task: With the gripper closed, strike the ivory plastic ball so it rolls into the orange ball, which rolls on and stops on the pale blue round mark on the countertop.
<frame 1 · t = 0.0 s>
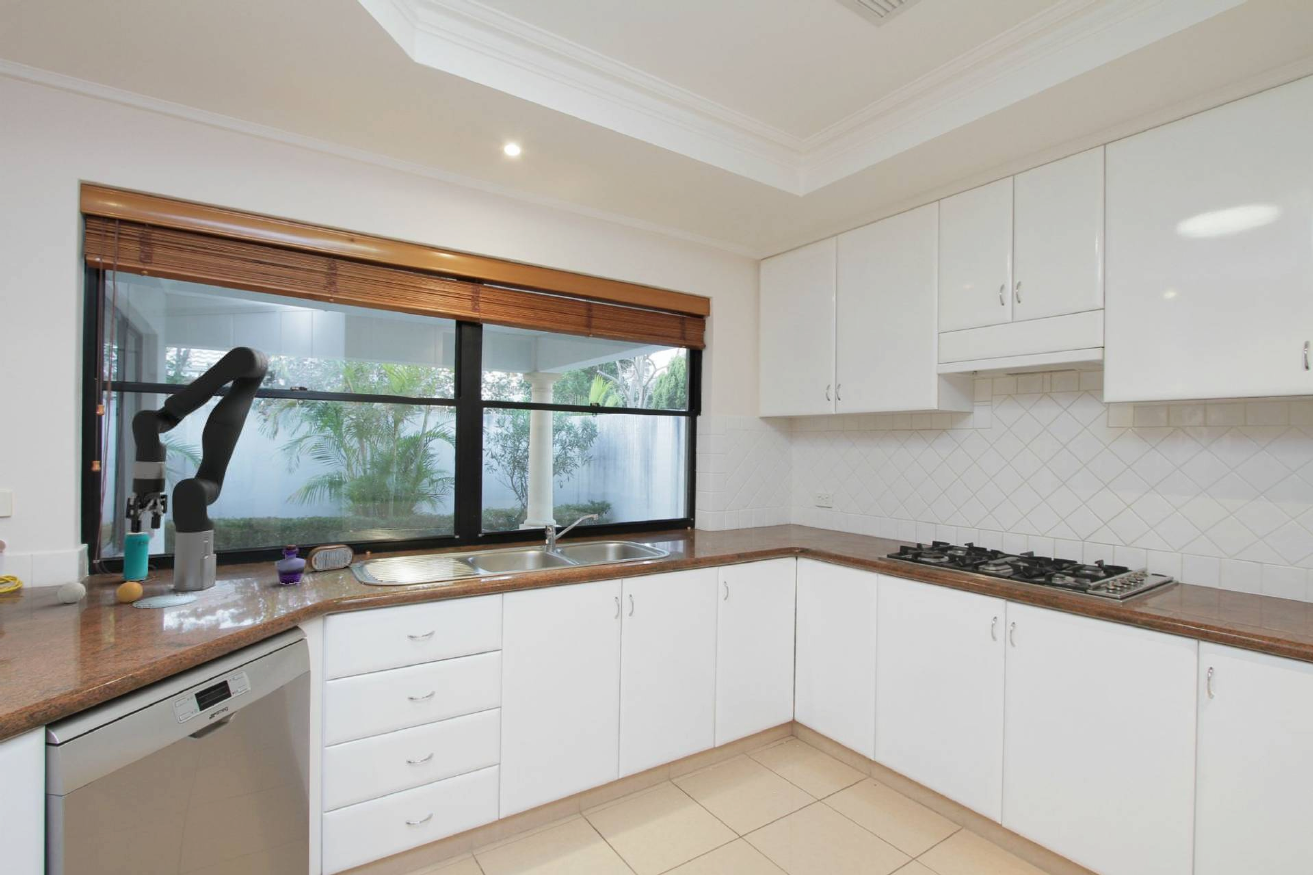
hand: (145, 530, 180), 17 cm above the worktop, tool pointing down, fingers open, 8 cm apart
potion bottle: (289, 583, 191), on the worktop
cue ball: (71, 592, 163), on the worktop
tin: (331, 570, 211), on the worktop
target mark: (165, 601, 167), on the worktop
orange ball: (129, 592, 165), on the worktop
beverage can: (135, 581, 189), on the worktop
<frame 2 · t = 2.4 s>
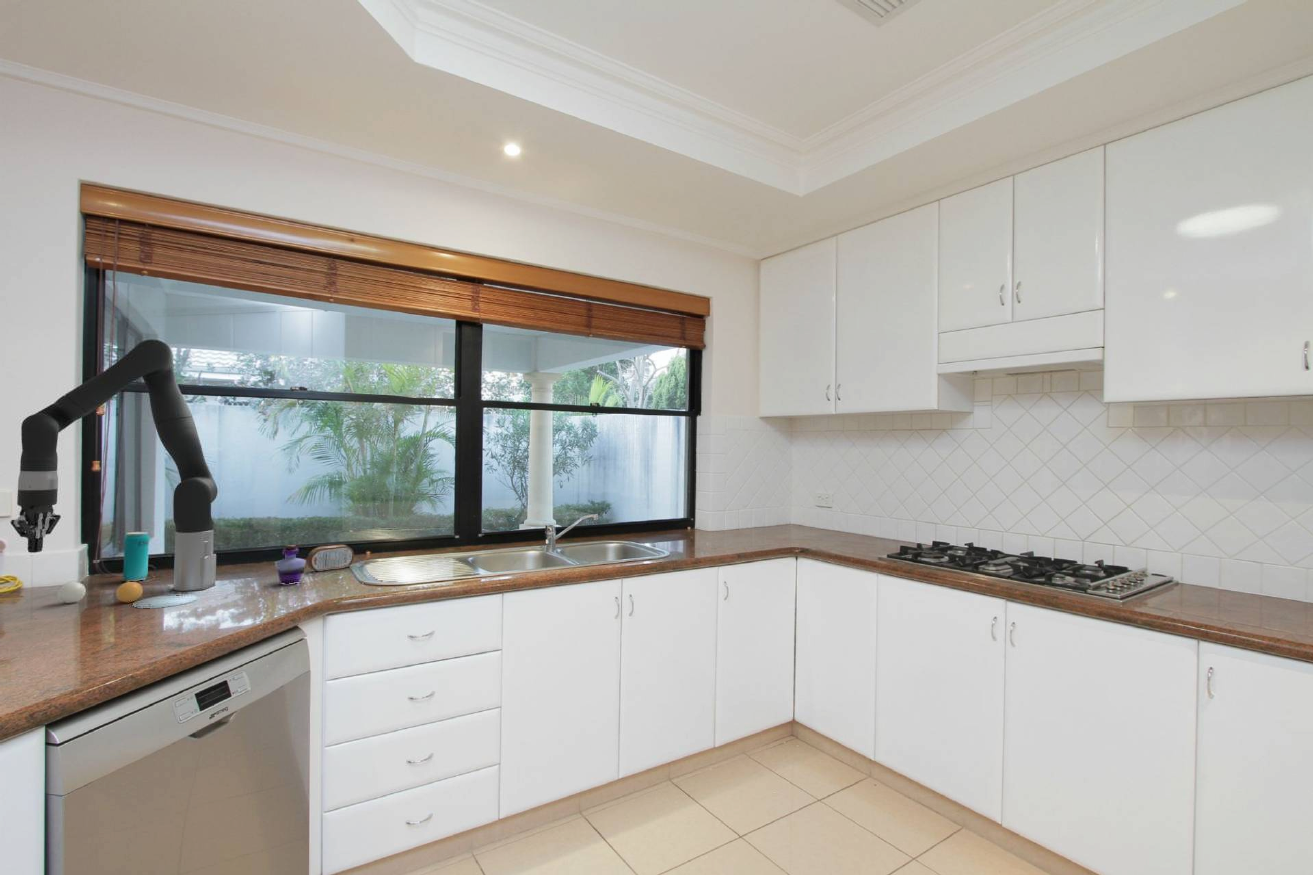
hand: (35, 552, 162), 14 cm above the worktop, tool pointing down, fingers closed
nothing on the worktop moved.
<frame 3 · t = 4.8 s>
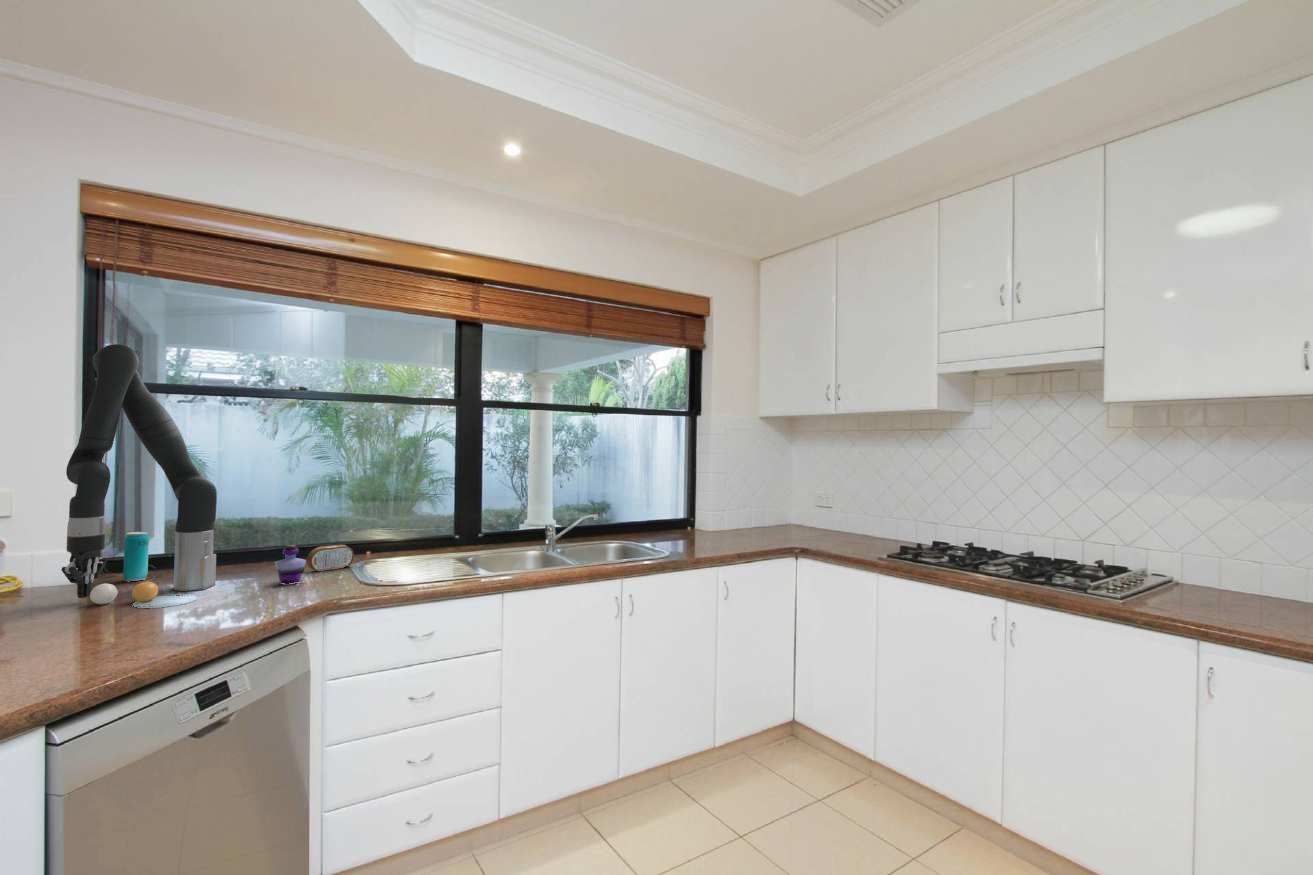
hand: (84, 597, 164), 2 cm above the worktop, tool pointing down, fingers closed
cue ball: (103, 593, 163), on the worktop
orange ball: (145, 591, 166), on the worktop
everything else where it was.
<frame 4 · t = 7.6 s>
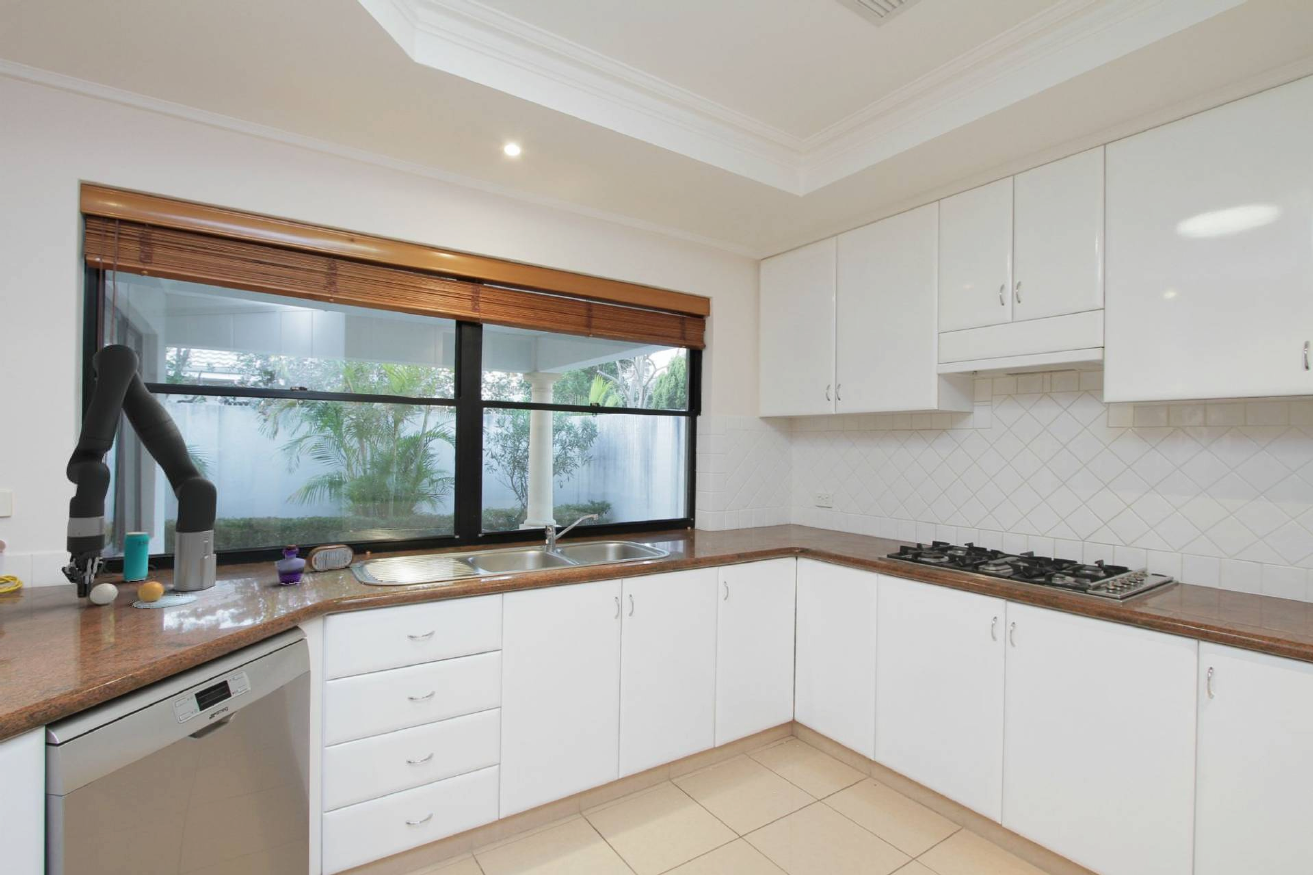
hand: (84, 597, 164), 2 cm above the worktop, tool pointing down, fingers closed
orange ball: (150, 591, 166), on the worktop
everything else where it was.
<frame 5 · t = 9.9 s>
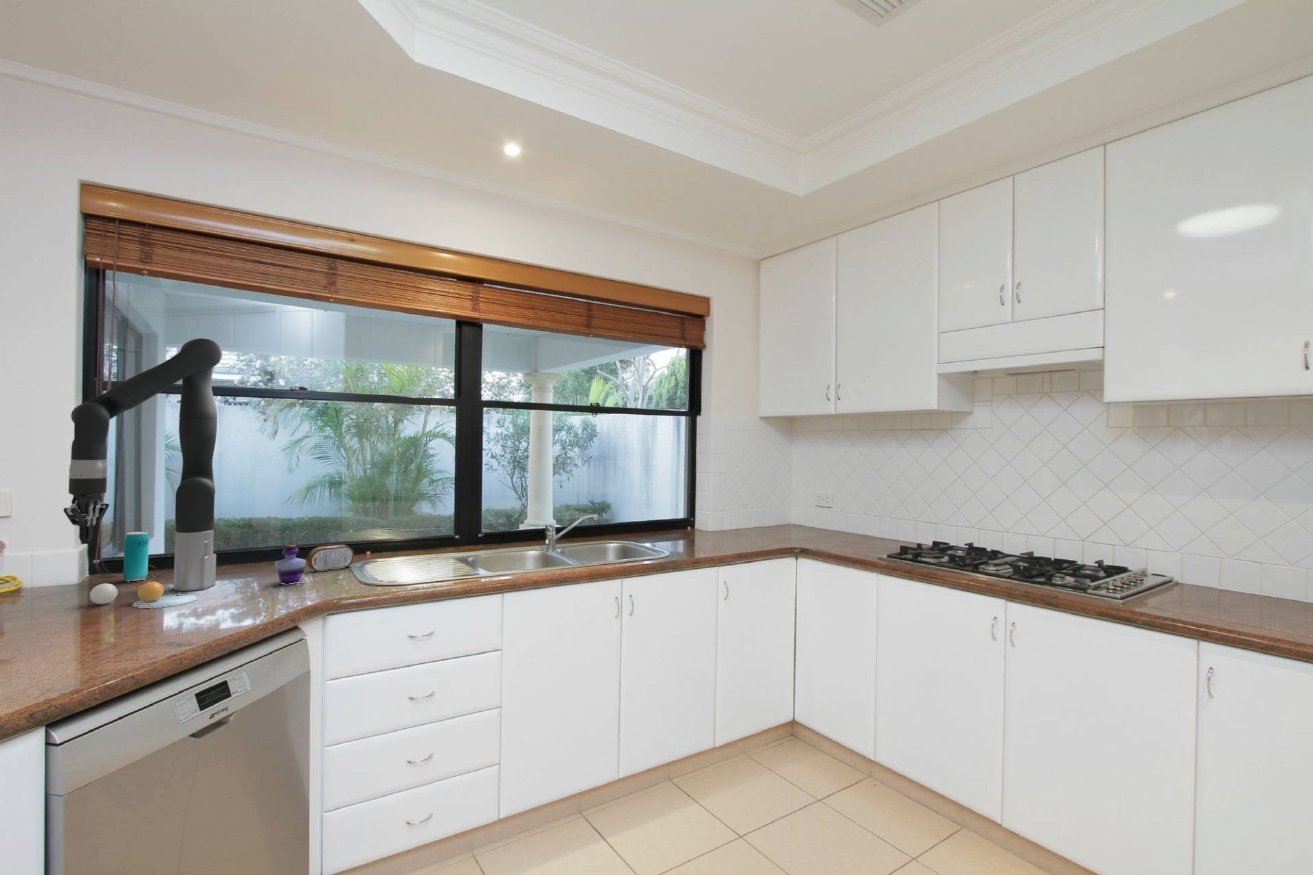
hand: (86, 539, 164), 17 cm above the worktop, tool pointing down, fingers closed
nothing on the worktop moved.
at the end: orange ball 3.7 cm from the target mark (horizontally); orange ball never touched the robot; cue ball first touched orange ball at 4.2 s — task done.
